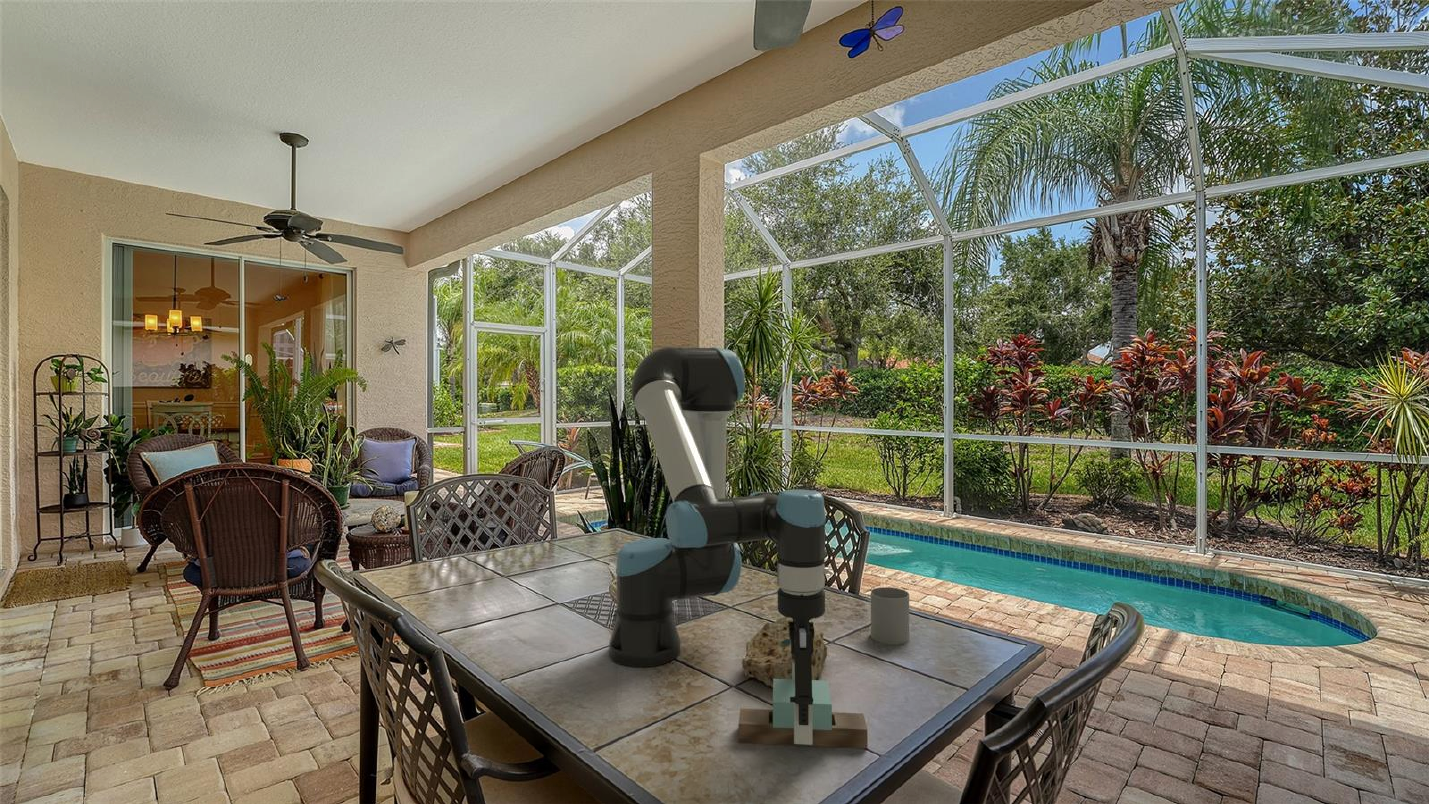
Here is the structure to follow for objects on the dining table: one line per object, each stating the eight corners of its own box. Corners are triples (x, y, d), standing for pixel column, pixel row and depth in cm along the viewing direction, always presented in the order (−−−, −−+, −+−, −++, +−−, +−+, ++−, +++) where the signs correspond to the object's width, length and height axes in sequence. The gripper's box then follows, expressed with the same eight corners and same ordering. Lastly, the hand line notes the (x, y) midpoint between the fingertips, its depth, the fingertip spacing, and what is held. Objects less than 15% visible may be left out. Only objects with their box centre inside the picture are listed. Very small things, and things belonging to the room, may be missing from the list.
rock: (814, 704, 118) (799, 651, 117) (742, 707, 124) (728, 656, 124) (840, 650, 136) (828, 604, 136) (777, 655, 142) (765, 611, 142)
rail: (738, 742, 103) (738, 723, 103) (740, 726, 108) (740, 708, 108) (867, 748, 101) (867, 729, 101) (863, 731, 106) (863, 713, 106)
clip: (773, 749, 101) (772, 701, 101) (773, 723, 109) (773, 678, 109) (831, 752, 100) (831, 704, 100) (828, 725, 108) (828, 680, 108)
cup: (910, 645, 141) (910, 600, 141) (871, 643, 143) (871, 597, 143) (907, 631, 150) (907, 588, 149) (870, 629, 151) (870, 586, 151)
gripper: (831, 616, 91) (831, 766, 92) (820, 567, 116) (820, 685, 117) (777, 614, 92) (778, 763, 93) (777, 566, 117) (778, 684, 117)
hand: (801, 720), depth 105 cm, fingers open, 13 cm apart
